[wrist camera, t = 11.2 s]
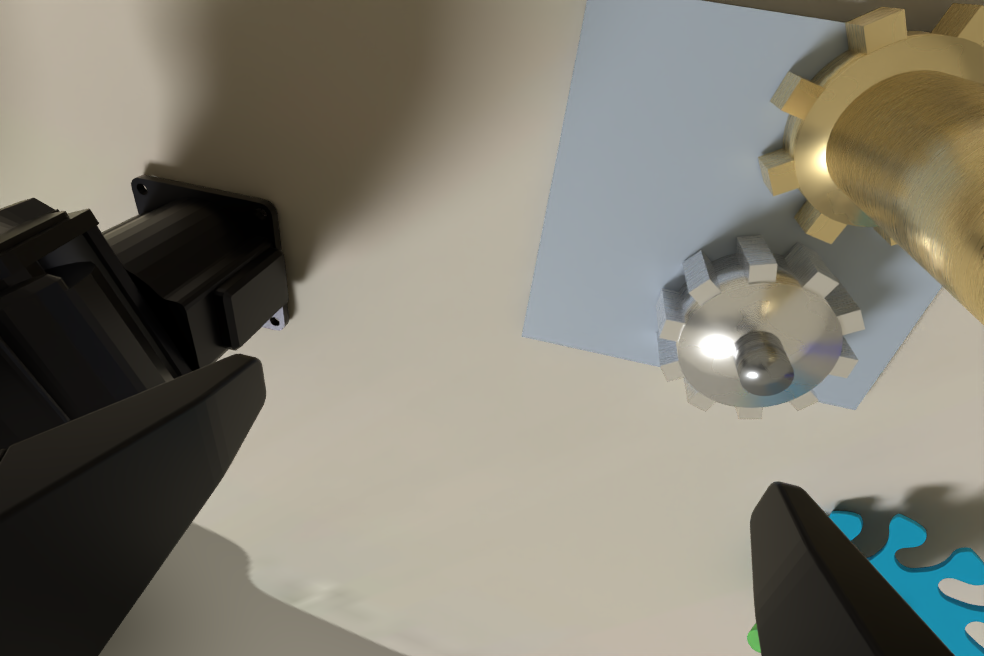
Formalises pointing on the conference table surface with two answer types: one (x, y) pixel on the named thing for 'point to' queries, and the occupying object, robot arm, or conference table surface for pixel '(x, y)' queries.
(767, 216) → the carrier plate
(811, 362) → the sun gear
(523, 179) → the conference table surface
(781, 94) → the gear
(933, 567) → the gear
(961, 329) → the conference table surface
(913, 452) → the conference table surface
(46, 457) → the robot arm
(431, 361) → the conference table surface
